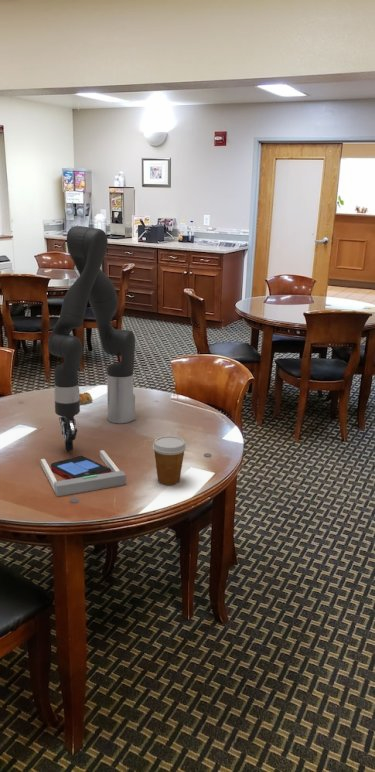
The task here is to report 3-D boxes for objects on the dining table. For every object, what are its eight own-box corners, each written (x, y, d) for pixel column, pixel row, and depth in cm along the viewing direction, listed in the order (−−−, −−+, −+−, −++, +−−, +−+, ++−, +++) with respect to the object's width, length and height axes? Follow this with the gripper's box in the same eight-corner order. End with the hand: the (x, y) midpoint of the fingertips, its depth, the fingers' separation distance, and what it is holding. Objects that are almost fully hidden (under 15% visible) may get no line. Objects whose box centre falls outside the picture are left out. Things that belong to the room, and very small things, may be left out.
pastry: (74, 408, 228) (74, 398, 227) (64, 404, 232) (63, 394, 231) (94, 403, 234) (93, 393, 233) (83, 399, 239) (83, 390, 238)
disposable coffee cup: (151, 473, 175) (152, 435, 172) (183, 473, 176) (185, 435, 172) (152, 488, 166) (153, 448, 163) (186, 487, 167) (187, 448, 163)
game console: (112, 472, 176) (112, 466, 175) (77, 486, 167) (76, 479, 166) (82, 458, 185) (82, 451, 184) (47, 470, 176) (47, 463, 175)
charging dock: (103, 455, 186) (103, 445, 185) (125, 484, 168) (125, 473, 167) (41, 465, 178) (40, 455, 177) (57, 496, 160) (56, 485, 159)
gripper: (85, 403, 178) (86, 456, 184) (73, 390, 190) (74, 441, 195) (60, 406, 175) (62, 460, 180) (49, 393, 186) (52, 444, 192)
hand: (68, 450), depth 188 cm, fingers closed
